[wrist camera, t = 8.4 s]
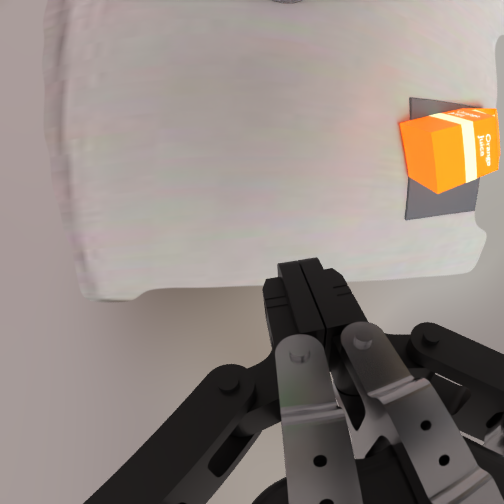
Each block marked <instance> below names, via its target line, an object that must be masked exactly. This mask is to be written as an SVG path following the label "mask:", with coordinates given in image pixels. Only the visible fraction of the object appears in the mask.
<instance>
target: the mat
mask: <svg viewBox="0 0 504 504" xmlns="http://www.w3.org/2000/svg"><path fill="white" fill-rule="evenodd" d="M409 99H410V120H414V119H418V118H422V117H426V116H429V115H433V114H438V113H444V112H448V111H453V110H458V109H462V108H465V109H471V108H475V107H470V106H465V105H460V104H454V103H447V102H441V101H433V100H425V99H417V98H409ZM479 180H480V177H479V178H477V179H475V180H472V181H470V182H467V183H464V184H461V185H459V186H457V187H454V188H452V189H449V190H447V191H444V192H442V193H439V194H437V193H435V192H433V191H432V190H430V189H429V188H427V187H425V186H424V185H422V184H420V183H419V182H417V181H415V180H413V179H412V178H410V177H408V191H407V202H406V212H405V220H411V219H418V218H425V217H432V216H439V215H446V214H453V213H460V212H468V211H475V205H476V200H477V194H478V187H479Z"/></svg>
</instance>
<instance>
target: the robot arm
mask: <svg viewBox="0 0 504 504" xmlns="http://www.w3.org/2000/svg"><path fill="white" fill-rule="evenodd" d="M273 1H276V2H281V3H295V2H299V1H303V0H273ZM277 267H278V277H276V278H270V279H266V281H265V284H264V286H263V297H264V305H265V314H266V321H267V326H268V331H269V336H270V341H271V346H272V351H271V353H270V355H269V356H268V357H267V358H266V359H265V360H264V361H262V362H261V363H259V364H257V365H255V366H252V367H250V368H248V369H246V368H245V367H243V366H240V365H236V364H226V365H222V366H219V367H217V368H215V369H214V370H212V371H211V372H210V373H209V374H208V375H207V376H206V377H205V378H204V379H203V380H202V382H201V383H200V384H199V385H198V386H197V387H196V388H195V389H194V391H193V392H192V393H191V394H190V395H189V396H188V397H187V398H186V399H185V401H184V402H183V403H182V404H181V405H180V406H179V407H178V408H177V410H175V412H174V413H173V414H172V415H171V416H170V417H169V418H168V419H167V420H166V421H165V422H164V423H163V424H162V426H160V428H159V429H158V430H157V431H156V432H155V433H154V434H153V435H152V436H151V437H150V438H149V439H148V440H147V441H146V442H145V443H144V444H143V446H141V447H140V448H139V449H138V451H137V452H136V453H135V454H134V455H133V456H132V457H131V458H130V459H129V460H128V461H127V462H126V463H125V464H124V465H123V466H122V467H121V468H120V469H119V470H118V471H117V472H116V473H115V474H114V475H113V476H112V477H111V478H110V479H109V480H108V481H107V482H105V483H104V484H103V485H102V486H101V487H100V488H99V489H98V490H97V491H96V492H95V493H94V494H93V495H92V496H91V497H90V498H89V499H88V500H86V501H85V502H84V503H83V504H206V503H207V502H208V500H209V499H210V498H211V497H212V496H213V494H214V493H215V492H216V491H217V490H218V488H219V487H220V486H221V485H222V483H223V482H224V481H225V480H226V479H227V477H228V476H229V475H230V474H231V472H232V471H233V470H234V469H235V467H236V466H237V465H238V463H239V462H240V461H241V459H242V458H243V457H244V456H245V454H246V453H247V451H248V450H249V449H250V447H251V446H252V445H253V443H254V442H255V441H256V439H257V438H258V436H259V435H260V434H261V432H262V430H264V429H266V428H268V427H270V426H272V425H274V424H276V423H279V422H281V424H282V434H283V446H284V457H285V468H286V477H285V478H283V479H281V480H279V481H277V482H275V483H274V484H272V485H271V486H269V487H268V488H267V489H265V490H264V491H263V492H262V493H261V494H260V495H259V496H258V497H257V498H256V499H255V500H254V501H253V503H252V504H504V354H501V353H499V352H497V351H495V350H493V349H490V348H488V347H486V346H484V345H482V344H480V343H477V342H475V341H473V340H471V339H469V338H466V337H464V336H462V335H460V334H457V333H455V332H453V331H451V330H449V329H446V328H444V327H442V326H439V325H437V324H435V323H429V322H426V323H421V324H419V325H417V326H415V327H414V329H413V330H412V332H411V335H393V334H386V333H384V332H383V331H382V329H381V328H379V327H378V326H377V325H375V324H373V323H369V322H368V321H367V319H366V317H365V315H364V313H363V311H362V310H361V308H360V306H359V304H358V303H357V301H356V299H355V297H354V295H353V294H352V292H351V290H350V288H349V287H348V286H347V283H346V281H345V279H344V278H343V276H342V275H341V274H340V273H338V272H337V271H336V270H334V269H333V268H330V269H323V267H322V265H321V263H320V261H319V259H318V258H317V257H316V258H310V259H303V260H298V261H291V262H285V263H278V265H277ZM330 372H331V374H332V377H333V385H332V381H331V377H330ZM435 373H438V374H439V375H441V376H443V377H445V378H448V379H450V380H452V381H454V382H456V383H458V384H460V385H462V386H459V385H457V384H455V383H452V382H450V381H448V380H446V379H444V378H442V377H440V376H438V375H436V374H435ZM335 397H336V398H335ZM336 400H337V402H338V404H339V406H338V405H337V402H336ZM348 428H349V430H348ZM459 430H460V431H462V432H464V433H466V434H469V435H471V436H473V437H475V438H478V439H480V440H482V441H484V444H483V446H482V445H480V444H478V443H476V442H474V441H472V440H470V439H468V438H466V437H464V436H462V435H461V433H460V431H459ZM349 431H350V433H351V437H352V444H351V440H350V435H349ZM352 448H353V449H352ZM353 452H354V454H353ZM354 456H355V458H356V459H355V458H354Z"/></svg>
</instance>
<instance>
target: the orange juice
mask: <svg viewBox="0 0 504 504" xmlns="http://www.w3.org/2000/svg"><path fill="white" fill-rule="evenodd" d="M400 128H401V132H402V138H403V143H404V148H405V154H406V160H407V167H408V174H409V177H410V178H412V179H413V180H415V181H417V182H419V183H420V184H422V185H424V186H425V187H427V188H429V189H430V190H432V191H433V192H435V193H437V194H439V193H442V192H444V191H447V190H449V189H452V188H454V187H457V186H459V185H461V184H464V183H467V182H470V181H472V180H475V179H477V178H479V177H481V176H484V175H486V174H488V173H491V172H493V171H495V170H498V163H499V156H500V139H499V126H498V117H497V109H481V108H471V109H465V108H462V109H458V110H453V111H448V112H444V113H438V114H433V115H429V116H426V117H422V118H418V119H414V120H410V121H406V122H402V123H400Z"/></svg>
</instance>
